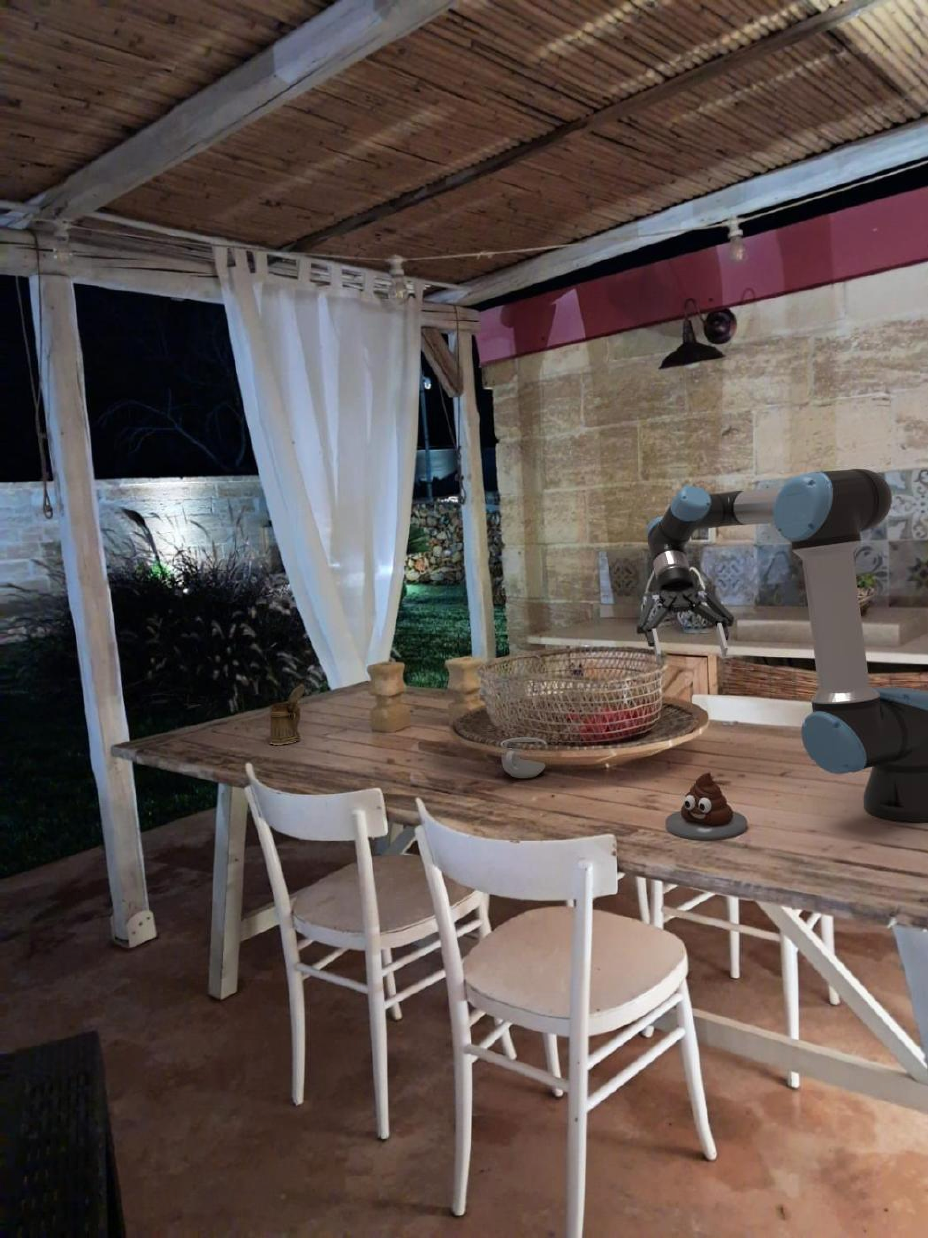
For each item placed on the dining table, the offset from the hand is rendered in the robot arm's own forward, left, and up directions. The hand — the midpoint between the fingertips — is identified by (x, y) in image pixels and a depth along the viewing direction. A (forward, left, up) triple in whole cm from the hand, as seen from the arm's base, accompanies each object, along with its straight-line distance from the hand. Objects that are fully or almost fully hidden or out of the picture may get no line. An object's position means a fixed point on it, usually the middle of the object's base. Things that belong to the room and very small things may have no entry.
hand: (692, 655), depth 191 cm
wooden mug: (+104, -74, -30) cm, 131 cm away
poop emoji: (+3, +18, -29) cm, 34 cm away
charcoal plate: (+3, +19, -30) cm, 35 cm away
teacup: (+37, -22, -30) cm, 53 cm away
